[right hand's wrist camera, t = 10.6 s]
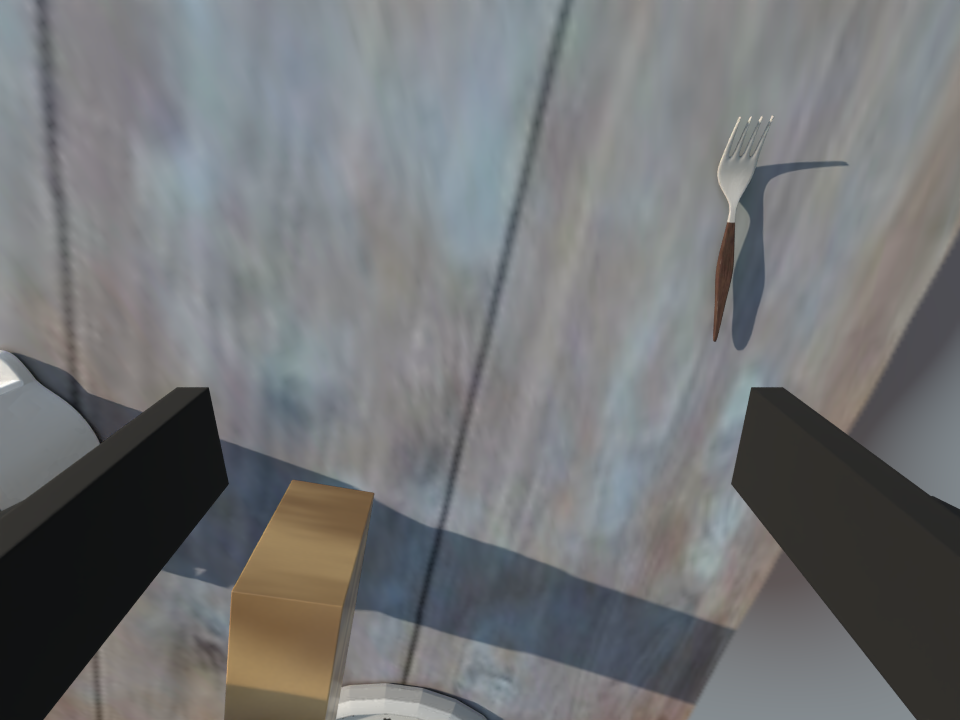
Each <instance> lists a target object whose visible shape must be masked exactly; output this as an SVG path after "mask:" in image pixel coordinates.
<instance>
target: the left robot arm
mask: <svg viewBox="0 0 960 720" xmlns="http://www.w3.org/2000/svg"><path fill="white" fill-rule="evenodd" d="M99 444H100V442H99V440H98V438H97V436H96V435H95V433H94V431H93V430H92V428H91V427H90V426H89V424H88V423H87V422H86V420H85V419H84V418H83V417H82V416H81V415H80V414H79V413H78V412H77V411H76V410H75V409H74V408H73V407H72V406H71V405H70V404H68V403H67V402H66V401H65V400H63V399H62V398H61V397H59V396H58V395H56V394H55V393H53V392H52V391H50V390H49V389H47V388H46V387H44V386H43V385H42V384H40V383H39V382H38V381H37V380H36V379H35V378H34V376H33V375H32V374H31V373H30V371H29V370H28V369H27V368H26V367H25V366H24V364H23V363H22V362H21V361H20V360H19V359H18V358H17V357H16V356H14V355H13V354H12V353H10V352H7V351H4V350H0V512H1V511H3V510H5V509H7V508H9V507H11V506H13V505H15V504H17V503H19V502H21V501H23V500H25V499H26V498H27V497H29V496H30V495H31V494H33V493H34V492H36V491H37V490H38V489H40V488H41V487H42V486H44V485H45V484H46V483H48V482H49V481H51V480H52V479H53V478H55V477H56V476H57V475H59V474H60V473H61V472H63V471H64V470H65V469H67V468H68V467H70V466H71V465H72V464H74V463H75V462H76V461H78V460H79V459H80V458H82V457H83V456H84V455H86V454H87V453H89V452H90V451H91V450H93V449H94V448H95V447H97V446H98V445H99Z"/></svg>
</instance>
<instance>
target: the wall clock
mask: <svg viewBox="0 0 960 720" xmlns="http://www.w3.org/2000/svg"><path fill="white" fill-rule="evenodd" d="M336 720H487V719H486V718H485V717H484V716H483V715H482V714H480V713H478V712H477V711H475V710H473V709H472V708H470V707H468V706H467V705H465V704H463V703H462V702H460V701H458V700H457V699H454V698H451V697H448V696H445V695H442V694H439V693H436V692H433V691H430V690H427V689H424V688H418V687H411V686H403V685H396V684H388V683H382V684H362V685H349V686H345V687H341V693H340V698H339V704H338V710H337V716H336Z"/></svg>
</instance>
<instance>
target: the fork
mask: <svg viewBox="0 0 960 720" xmlns="http://www.w3.org/2000/svg"><path fill="white" fill-rule="evenodd" d="M762 118H763V116H761V118H760V120H759V122H758V124H757V126H756V128H755V130H754V132H753V134H752V136H751V138H750V140H749V143H748V145H747V147H746V149H745V151H744V153H743V155H742V156H741V157H740V156H739V153H740V149H741V146H742V144H743V141H744V138H745V135H746V132H747V129H748V127H749V124H750V121H751V119H752V117H750V118H749V120H748V123H747V125H746V127H745V129H744V131H743V133H742V135H741V138H740V140H739V142H738V144H737V147H736V149H735V151H734V153H733V155H732V156H731V157H729V152H730V149H731V145H732V142H733V139H734V136H735V133H736V130H737V128H738V125H739V122H740V120H741V117H739V119H738V121H737V123H736V125H735V128H734V130H733V132H732V134H731V137H730V139H729V141H728V144H727V146H726V149H725V151H724V154H723V156H722V159H721V161H720V164H719V167H718V181H719V184H720V187H721V189H722V191H723V193H724V194H725V196H726V198H727V200H728V203H729V207H730V211H729V217H728V221H727V225H726V229H725V233H724V237H723V241H722V245H721V249H720V253H719V257H718V262H717V268H716V279H715V311H714V329H713V341H714V342H716V340H717V337H718V333H719V329H720V325H721V320H722V316H723V311H724V307H725V303H726V299H727V295H728V291H729V287H730V283H731V278H732V273H733V264H734V238H735V214H736V208H737V204H738V202H739V200H740V198H741V196H742V195H743V193H744V191H745V190H746V188H747V186H748V184H749V182H750V181H751V178H752V176H753V174H754V171H755V168H756V165H757V161H758V157H759V154H760V151H761V148H762V145H763V143H764V140H765V137H766V135H767V132H768V130H769V127H770V125H771V122H772V120H773V118H774V116H772V117H771V119H770V121H769V123H768V125H767V127H766V129H765V131H764V133H763V135H762V137H761V139H760V141H759V143H758V145H757V148H756V150H755V152H754V154H753V155H752V156H750V150H751V147H752V144H753V142H754V139H755V136H756V133H757V131H758V128H759V126H760V123H761V121H762Z"/></svg>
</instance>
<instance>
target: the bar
mask: <svg viewBox="0 0 960 720" xmlns="http://www.w3.org/2000/svg"><path fill="white" fill-rule="evenodd" d="M373 499H374V493H372V492H366V491H360V490H353V489H347V488H341V487H335V486H329V485H323V484H316V483H310V482H304V481H298V480H292V482H291V483H290V485H289V487H288V489H287V491H286V493H285V494H284V496H283V498H282V500H281V502H280V504H279V505H278V507H277V509H276V511H275V513H274V515H273V516H272V518H271V520H270V522H269V524H268V526H267V527H266V529H265V531H264V533H263V535H262V537H261V538H260V540H259V542H258V544H257V546H256V548H255V549H254V551H253V553H252V555H251V557H250V559H249V560H248V562H247V564H246V566H245V568H244V570H243V571H242V573H241V575H240V577H239V579H238V581H237V582H236V584H235V586H234V588H233V590H232V593H231V610H230V627H229V645H228V662H227V679H226V697H225V714H224V720H336V716H337V710H338V704H339V698H340V693H341V687H342V681H343V675H344V669H345V663H346V657H347V652H348V646H349V640H350V634H351V628H352V622H353V616H354V611H355V605H356V599H357V593H358V587H359V581H360V575H361V570H362V564H363V558H364V552H365V546H366V540H367V535H368V529H369V523H370V517H371V511H372V505H373Z"/></svg>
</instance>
